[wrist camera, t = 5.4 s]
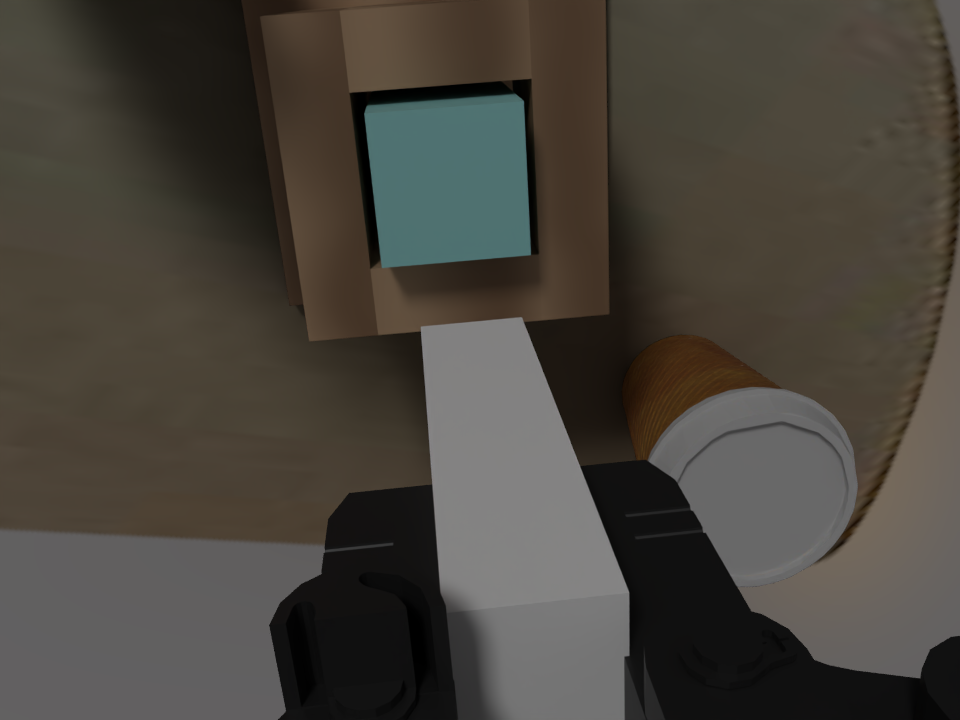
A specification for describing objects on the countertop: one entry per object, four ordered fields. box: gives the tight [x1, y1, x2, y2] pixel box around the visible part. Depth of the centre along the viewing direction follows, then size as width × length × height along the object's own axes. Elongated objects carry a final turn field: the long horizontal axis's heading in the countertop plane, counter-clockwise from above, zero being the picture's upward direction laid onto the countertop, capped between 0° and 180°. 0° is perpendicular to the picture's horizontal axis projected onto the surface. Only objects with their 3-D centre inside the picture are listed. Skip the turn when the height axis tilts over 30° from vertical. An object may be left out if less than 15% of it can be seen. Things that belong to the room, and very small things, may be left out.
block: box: [364, 81, 531, 268], centre depth 34 cm, size 5×5×12 cm
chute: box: [241, 0, 609, 341], centre depth 36 cm, size 16×16×13 cm
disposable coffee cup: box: [622, 335, 858, 587], centre depth 43 cm, size 10×10×12 cm
